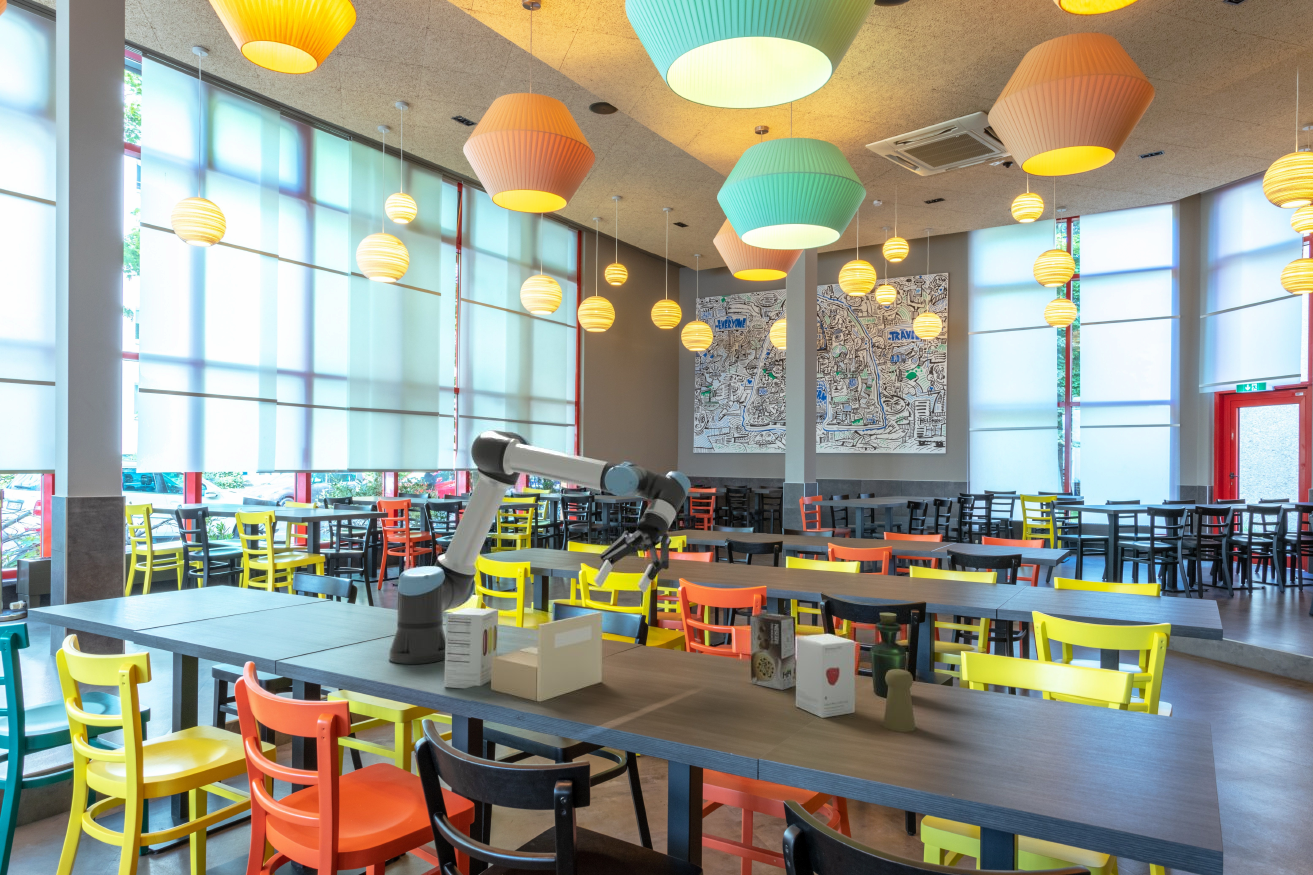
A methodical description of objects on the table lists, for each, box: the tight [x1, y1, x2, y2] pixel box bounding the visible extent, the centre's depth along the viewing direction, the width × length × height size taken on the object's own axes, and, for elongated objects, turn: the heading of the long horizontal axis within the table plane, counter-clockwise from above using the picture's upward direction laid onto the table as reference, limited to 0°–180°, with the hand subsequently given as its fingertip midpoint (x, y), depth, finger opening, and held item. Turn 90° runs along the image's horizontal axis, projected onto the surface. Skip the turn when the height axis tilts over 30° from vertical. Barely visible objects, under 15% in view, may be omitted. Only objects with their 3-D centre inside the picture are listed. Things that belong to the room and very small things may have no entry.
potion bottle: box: [869, 612, 908, 698], centre depth 173 cm, size 8×8×18 cm
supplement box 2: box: [795, 633, 856, 719], centre depth 161 cm, size 9×9×15 cm
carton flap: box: [537, 611, 603, 703], centre depth 169 cm, size 1×20×16 cm, turn 144°
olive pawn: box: [883, 669, 916, 733], centre depth 150 cm, size 6×6×11 cm
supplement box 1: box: [443, 607, 499, 689], centre depth 178 cm, size 10×9×17 cm
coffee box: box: [750, 612, 797, 691], centre depth 180 cm, size 9×6×16 cm
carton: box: [490, 645, 538, 702], centre depth 174 cm, size 14×20×8 cm
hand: (618, 586), depth 183 cm, fingers open, 13 cm apart
